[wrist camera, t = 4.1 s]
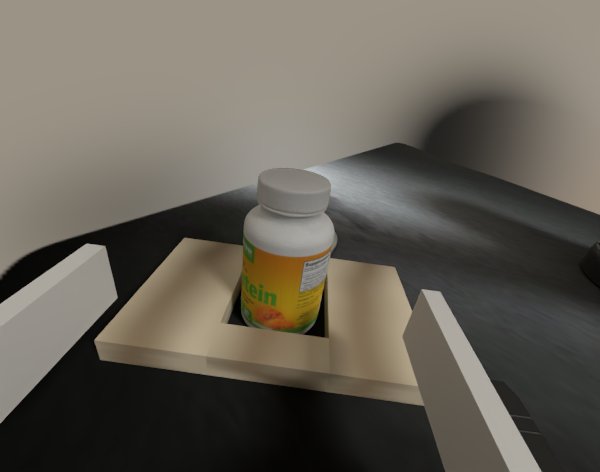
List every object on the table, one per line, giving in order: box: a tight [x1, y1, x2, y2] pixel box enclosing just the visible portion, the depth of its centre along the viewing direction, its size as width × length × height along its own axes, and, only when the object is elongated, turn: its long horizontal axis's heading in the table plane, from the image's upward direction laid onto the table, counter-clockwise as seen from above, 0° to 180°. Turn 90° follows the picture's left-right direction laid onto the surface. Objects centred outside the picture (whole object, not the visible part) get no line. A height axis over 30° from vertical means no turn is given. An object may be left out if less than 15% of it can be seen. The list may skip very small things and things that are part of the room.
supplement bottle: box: [241, 168, 334, 335], centre depth 18 cm, size 5×5×10 cm
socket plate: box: [94, 238, 424, 406], centre depth 20 cm, size 18×11×2 cm, turn 86°
